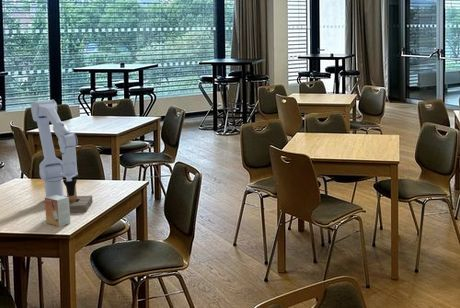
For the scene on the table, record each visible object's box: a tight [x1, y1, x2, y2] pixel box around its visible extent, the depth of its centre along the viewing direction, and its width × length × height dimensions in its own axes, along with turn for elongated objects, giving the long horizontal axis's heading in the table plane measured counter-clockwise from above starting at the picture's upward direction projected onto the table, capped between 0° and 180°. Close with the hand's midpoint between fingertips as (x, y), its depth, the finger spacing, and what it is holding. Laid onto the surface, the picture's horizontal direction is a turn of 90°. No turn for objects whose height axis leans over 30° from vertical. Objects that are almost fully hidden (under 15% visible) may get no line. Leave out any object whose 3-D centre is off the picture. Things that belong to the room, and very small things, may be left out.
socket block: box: [63, 195, 94, 214], centre depth 272 cm, size 16×14×3 cm
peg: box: [65, 183, 78, 202], centre depth 271 cm, size 4×4×9 cm
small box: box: [44, 195, 71, 227], centre depth 249 cm, size 8×6×10 cm
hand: (71, 194), depth 272 cm, fingers closed on peg, 4 cm apart
